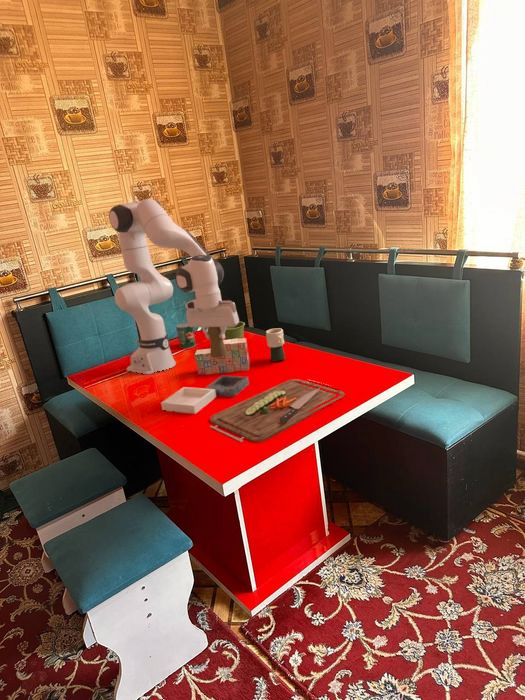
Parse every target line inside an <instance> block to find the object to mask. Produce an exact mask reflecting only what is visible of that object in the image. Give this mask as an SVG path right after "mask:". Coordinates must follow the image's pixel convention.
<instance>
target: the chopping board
mask: <svg viewBox="0 0 525 700" xmlns="http://www.w3.org/2000/svg"><path fill="white" fill-rule="evenodd" d="M308 380H309V381H313V382H317V383H321V384H322V382H320V381H315V380H313V379H312V380H311V379H308ZM296 382H297V383H296ZM299 383H302V384H305V385H302V384H299ZM324 384H325V385H328V386H329V384H326V383H324ZM306 385H309V386H313V387H317V388H318V389H316V388H313V387H309V386H306ZM320 388H321V389H324V390H327V391H331V392H335V393H339V394H340V396H338V397H337V398H335V399H333V400H331V401H329V402H327V403H325V404H323V405H321V406H320V407H318V408H316V409H314V408H315V407H317V406H318V405H320V404H322V403H324V402H325V401H328V400H330V399H331V398H333V397H335V396H336V394H333V393H330V392H326V391H323V390H320ZM344 395H345V393H344V392H343V391H342V390H335V389H333V388H330V387H326V386H322V385H319V384H315V383H312V382H308V381H306V380H302V379H294V378H293V379H289V380H286V381H285V382H282V383H279V384H278V385H275V386H273V387H271V388H268V389H267V390H265V391H262V392H261V393H257V394H255V395H253V396H252V397H250V398H247V399H245V400H243V401H240V402H238V403H236V404H234V405H232V406H230V407H228V408H225V409H223V410H221V411H219V412H217V413H214V414H213V415H211V416H210V418H209V420H210V423H211V424H213V425H215V426H213V425H210V426H209V428H211V429H213V430H215V431H217V432H219V433H221V434H222V435H223V434H224V435H225V436H227V437H230V438H231V439H234V440H235V441H238V442H240V443H242V442H243V441H244V440H243V439H246V440H248V441H250V442H254V443H261V442H265V441H268V440H269V439H272V438H273V437H275V436H276V435H279V434H281V433H282V432H284V431H286V430H288V429H289V428H291V427H293V426H295V425H297V424H298V422H299V423H301V422H303V421H304V420H303V419H305V418H306V419H308V418H309V417H308V416H310V415H312V414H313V413H315V412H317V411H318V410H320V409H322V408H324V407H325V406H327V405H329V404H331V403H333V402H335V401H336V400H338V399H340V398H342V397H343V396H344ZM312 409H314V410H312ZM310 410H312V411H310ZM309 411H310V412H309ZM307 412H308V413H307ZM312 416H313V415H312ZM307 417H308V418H307ZM310 417H311V416H310ZM306 419H305V420H306ZM302 420H303V421H302ZM300 421H301V422H300ZM218 427H219V428H218ZM220 428H222V429H224V430H226V431H228V432H226V431H224V430H222V429H220ZM229 432H231V433H233V434H234V435H232V434H231V433H229ZM235 435H237V436H240V437H241V438H240V437H237V436H235Z"/></svg>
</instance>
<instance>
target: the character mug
mask: <svg viewBox="0 0 525 700" xmlns="http://www.w3.org/2000/svg"><path fill="white" fill-rule="evenodd" d="M265 336H266V337H265V338H266V342H267V346H268V347H269V348H270V361H271V362H278V361H279V362H281V361H282V360H285V359H286V356H285V351H284V347H283V345H284V344H285V339H284V330H283V329H282V328H279V327H278V328H270V329H268V330H266V331H265Z"/></svg>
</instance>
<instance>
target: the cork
mask: <svg viewBox="0 0 525 700" xmlns="http://www.w3.org/2000/svg"><path fill="white" fill-rule="evenodd" d="M207 331H208V335H209V336H210V339H209V344H210V348H209V349H211V357H213V358H217V357H222V356H225V355H227V352H226V349H225V345H224V342H223V340H224V339H220V338H219V334H221V331H222V330H220V327H208V330H207Z"/></svg>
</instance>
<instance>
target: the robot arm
mask: <svg viewBox="0 0 525 700" xmlns="http://www.w3.org/2000/svg"><path fill="white" fill-rule="evenodd" d="M108 217H109V218H108V219H109V223H110V226H111V228H112V229H113V230H114V231H115V232H117V233H118V237H119V247H120V250H121V256H122V259H123V264H124V267H125V269H126V270H127V271H128V272H129V273H133V274H137V275H138V276H139V278H140V281H136V282H132V283H127V284H125V285H123V286H120V287H119V288H117V289H116V290H115V294H114V302H115V304H116V305H117V307H118V308H119V309H120V310H122V311H124V312H126V313H128V314H129V315H130V316H132V317H133V319H134V320H135V323H136V324H137V328H138V331H139V336H140V339H138V340H137V341H136V344H139V347H138V348H137V349H135V351H134V352H133V353H132V354H131V355H130V365H128V366H127V368H126V371H127V372H130V371H131V372H130V373H136V372H137V373H138V374H141V373H143V375H151V374H154V372H155V373H158V372H157V371H160V372H163V371H162V370H164V371H167V370H169V368H170V369H171V368H174V367H175V366H176V365H177V362H176V360H175V359H174V356H173V353H172V351H171V348H170V340H169V336H168V334H167V332H166V326H165V322H164V318H163V317H162V316H161V315H160V314H158V313H155V312H151V310H150V308H149V307H150V306H152V305H153V306H154V305H157V304H160V303H163V302H165V301H167V300H169V299H172V296H173V294H174V285H173V284H172V282H171V280H169V278H167V277H165V276H164V275H162V274H160V272H158V270H157V269H156V267H155V266H154V263H153V261H152V257H151V254H150V250H149V245H148V241H147V240H149V241H150V242H151V243H152V244H153V245H155V246H156V247H160V248H163V249H177V250H180V251H183V252H185V253H187V254H188V255H189V256H190V259H189V262H188V263H187V264H185V265H183V266H181V267H179V268H178V269H177V271H176V274H175V281H176V282H175V283H176V285H177V288H178V289H179V290H180V291H182V292H183V293H192V292H195V293H194V294H195V298H193V299H192V300H189V301H188V302H186V303H185V305H184V306H185V309H187V310H186V312H185V315H186V323H188V325H189V326H190V327H193V328H201V330H202V332H203V333H204V334H205V337H206V339H207V340H208V339H209V340H210V336H209V335H208V331H207V330H208V328H209V327H220V330H222V331H221V334H219V338H220V339H223V340H225V331H226V327H234V326H236V325H238V323H239V322H240V318H239V315H238V312H237V307H236V304H235V302H234V301H232V300H229V299H228V300H222V294H221V290H220V288H219V286H220V285H221V284H222V282H223V279H224V277H225V271H224V268H223V266H222V265H221V263H220V262H219V261H218V260H216V259H215V258H213V256H212V255H210V253H209V252H208V251H206V249H205V248H204V246H202V245H201V244H200V242H199V241H198V240H197V239H196V238H195V237H194V236H193V235H192V234H191V233H190V232H189V231H187V230H186V229H183V228H182V227H180V226H179V225H178V224H177V223H175V222H174V221H173V220H172V218H171V217H170V215H169V214H168V212H166V210H165V209H164V207H163V206H162V204H161V203H160V202H159V201H158V200H154V199H152V198H145V199H143V200H137V201H135V200H134V201H132V202H128V203H124V204H117V205H114V206H113V207H111V209H110V211H109V214H108ZM147 238H148V239H147ZM166 369H167V370H166Z"/></svg>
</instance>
